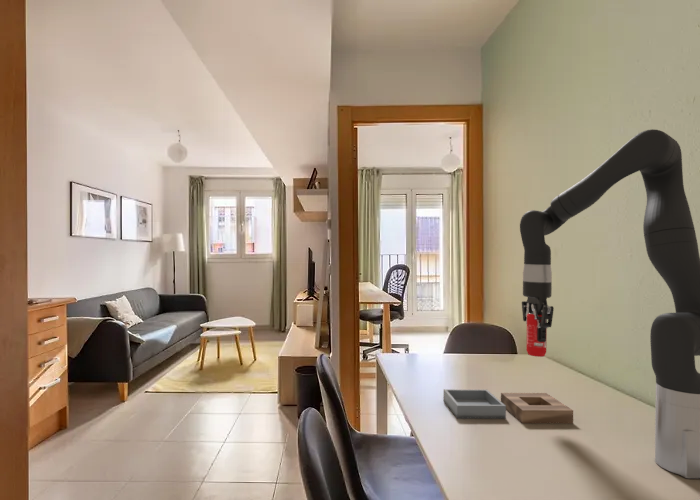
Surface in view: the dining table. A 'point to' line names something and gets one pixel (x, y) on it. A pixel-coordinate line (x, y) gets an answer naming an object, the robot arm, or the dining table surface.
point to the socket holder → (536, 408)
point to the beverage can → (534, 338)
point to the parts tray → (474, 404)
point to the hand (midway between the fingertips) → (536, 339)
